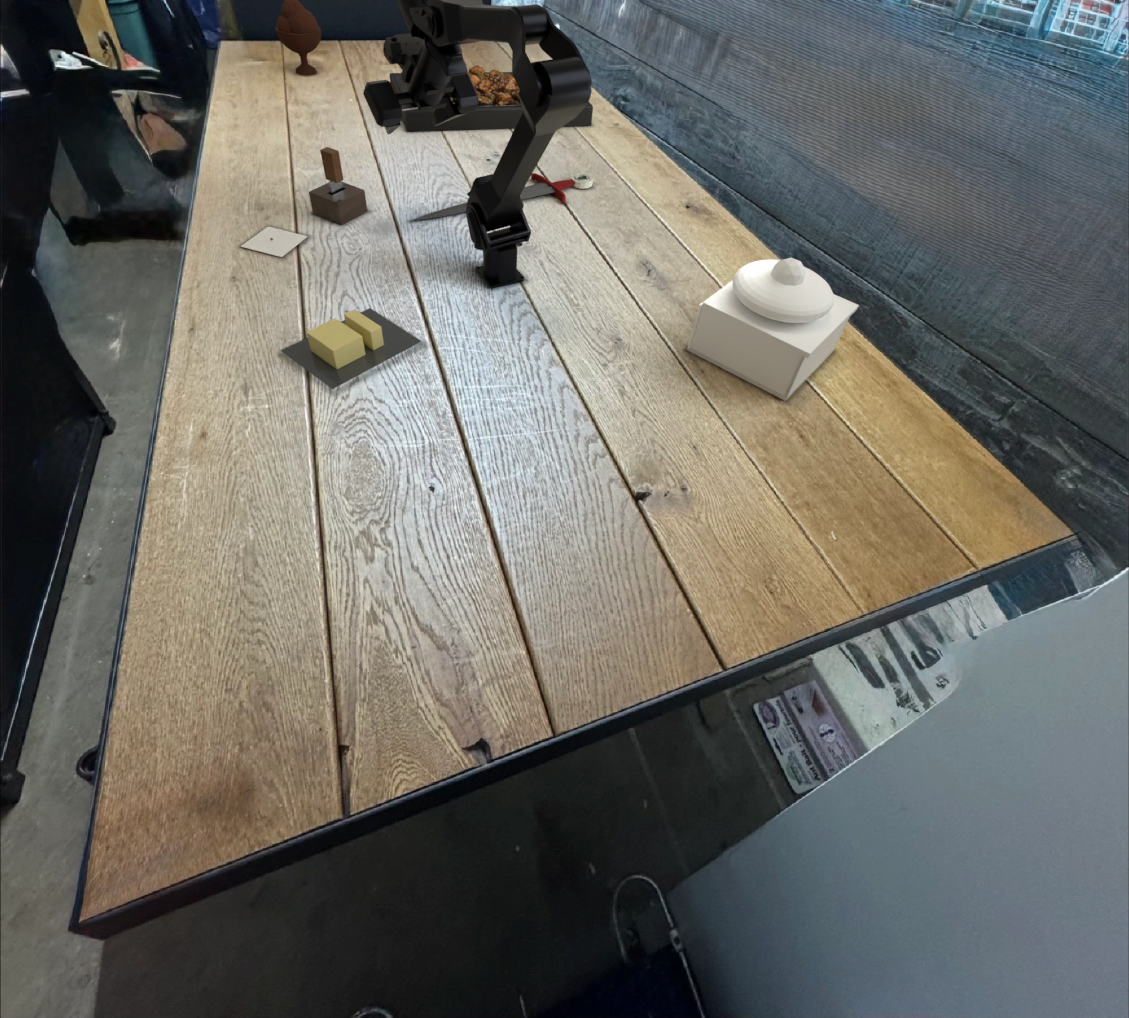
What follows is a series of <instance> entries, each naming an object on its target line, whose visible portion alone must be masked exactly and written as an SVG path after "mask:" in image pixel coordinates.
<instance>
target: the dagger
mask: <svg viewBox="0 0 1129 1018" xmlns="http://www.w3.org/2000/svg"><path fill="white" fill-rule="evenodd" d="M530 180H531V181H535V182H537V183H534V184H531V185H527V186H525V187H524V189H523V191H522V192H521V198H522V200H525V199H530V198H535V197H540V196H544V195H548V194H551V195H553V196H555V197H556V198H558V199H559V200H561V203H562V204H565V203H566V199H567V198H566V194H565V193H564V191H563V189H568V188H570V187H573V188H576V189H581V190H582V189H590V188H591V187H592V186H593V182H594V177H593V176H592V175H591V174H589V173H586V172H575V173H571V175H570V179H562V180H556V181H552V182H551V181H550V180H548V179H547V178H546V177H544V176H543V175H540V174H538V173H536V172H533V173H532V174H531V176H530ZM466 207H467V202H463V203H460V204H455V205H453V206H450V207H446V208H442V209H439V210H436V211H433V212H430V213H427V214H424V215H421V216H418V217H416V218H413V219H411V220H410V222H413V221H421V220H428V219H429V220H430V219H434V218H441V217H446V216H451V215H452V216H453V215H457V214H461V213H466Z"/></svg>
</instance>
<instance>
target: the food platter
mask: <svg viewBox="0 0 1129 1018" xmlns="http://www.w3.org/2000/svg"><path fill="white" fill-rule="evenodd" d="M467 72H468V74H469V76H470V78H471V81H472V83H473V85H474V87H475V90H476V92H477V94H478V100H479V102H478V105H477V107H476V109H475V111H472V112H468V113H467V114H464V115H461V116H459V117H456V118H454V119H451V120H449V121H446V122H444V123H442V124H440V125H437V126H434V124H433V122H432V118H433V114H434V112H435V109H432V110H426V111H420V112H419V110H418V108H417V109H411V110H405V111H402V115H403V118H402V120H401V122H402V123H403V126H404V128H405V130H406V132H407V133H417V132H446V131H449V132H450V131H477V130H478V131H479V130H480V131H481V130H506V129H510V130H511V129H515V127H516V125H517V123H518V121H519V119H520V117H521V115H522V112H523V110H522V106H521V102H520V98H519V91H520V89H519V87H518V85H517V83H516V81H515V79H514V77H513V75H512V71H500V69H491V70H489V71H486V70H485V68H484V67H482V66H480V65H479V64H476V65H473V66H471V67H470V68H469V69H468V70H467ZM401 73H402V71H401V72H390V73H389V81H390V83H391V86H392V88H393V90H394V92H395V94H397V93H404V92H407V86H408V85H407V83H404V82H403V80H402V78H401ZM593 111H594V106H593V104H592V103H591V102H590V101H589V102H588V104H587V105H586V106H585V107H584V109H583V110H582V111H581V112H580V113H579V114H578V115H577V116H576V118H574V119H573V120H571V121H570V122H568V123H567V124H565V125H564V126H563V127H562V128H568V127H569V128H570V127H592V122H593V121H592V120H593Z"/></svg>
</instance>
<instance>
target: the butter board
mask: <svg viewBox="0 0 1129 1018" xmlns="http://www.w3.org/2000/svg"><path fill="white" fill-rule="evenodd" d="M359 312H360V311H359ZM360 313H361V314H363V315H364V316H366V317H367V318H369V319H370V320H372V321H373V322H375V323H376V324H378V325H379V326H381V329H382V335H383V342H384V345H383V346H381V347H379V348H377V349H375V350H372V349H371V348H369V347H368V346H366V345H365V344H364V349H365V355H364V356H362V357H360V358H358V359H356V360H354V361H352V362H350V363H348V364H347V365H345V366H343V367H341V368H339V369H336V368H334V367H333V366H332V365H330V364H329V363H327V362H326V361H325V360H323V359H322V358H320V357H319V356H318V355H316V354H315V353H314V352H312V351H311V349H310V345H309V341H308V337H306V338H304V339H302V340H299V341H297V342H295V343H293V344H291V345H289V346H287V347H284V348H282V349H280V352H281V353H283V354H284V355H286V356H287V357H288V358H290V359H291V360H292V361H294V362H295V363H297V364H298V365H299V366H301V368H303V369H304V370H306V371H307V372H308V373H310V374H311V375H313V376H314V377H315V378H317V379H318V380H320V381H321V382H322V383H323V384H325V385H326V386H328V387H329V388H330V389H332V390H335V389H336V388H338V387H339V386H341V385H344V384H345V383H347V382H349V381H351V380H353V379H354V378H357V377H358V376H360V375H362V374H364V373H366V372H368V371H370V370H372V369H373V368H375V367H377V366H379V365H380V364H383V363H384V362H387V361H389V360H390V359H392V358H394V357H396V356H397V355H400V354H401V353H403V352H405V351H407V350H409V349H411V348H412V347H415V346H416V345H418V344H420V343H422V340H420V339H419V338H417V336H414V335H413V334H411V333H409V332H408V331H406V330H405V329H403V328H402V327H400V326H399V325H398V324H396V323H394V322H392V321H391V320H389V319H388V318H386V317H384V316H383V315H382V314H380V313H378V311H375V310H374V309H372V308H370V307H369V308H367V309H365V310H362V311H361V312H360ZM340 322H342V323H343V324H345V325H346V322H345V319H344V320H340Z"/></svg>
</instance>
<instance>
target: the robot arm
mask: <svg viewBox="0 0 1129 1018" xmlns="http://www.w3.org/2000/svg"><path fill="white" fill-rule="evenodd" d="M395 2H396V4H397V6H398V8H399V10H400V13H401V14H402V17H403V19H404V22H405V24H406V26H407V29H408V31H409V33H400V34H395V35H393V36H388V37H387V36H386V38H385V40H384V42H383V47H382V52H383V56H384V58H385V59H386V60H387V62H388V63H389V64H390V65H398V66H399V68H400V69H401V72H402V73H401V72H400V73H401V78H402V80H403V82H404V83H407V85H408V86H407V92H404V93H397V94H395V92H394V90H393V88H392V86H391V83H390V80H388V79H380V80H373V81H367V82H365V83H366V84H365V86H364V89H363V92H362V94H363V97H364V99H365V101H366V103H367V105H368V108H369V110H370V112H371V114H372V117H373V118H374V121H375V123H376V125H377V126H379V127H380V128H384V129H385V131H386V134H387V135H391V134H392V133H394V132H395V131H396V130H397V129H399V127H401V125H402V124H401V122H402V118H403V115H402V111H405V110H411V109H417V108H418V110H419V112H420V111H426V110H432V109H435V112H434V114H433V118H432V122H433V124H434V126H437V125H440V124H442V123H444V122H446V121H449V120H451V119H454V118H456V117H459V116H461V115H464V114H467V113H468V112H472V111H475V109H476V107H477V105H478V102H479V100H478V94H477V92H476V90H475V87H474V85H473V83H472V81H471V78H470V76H469V74H468V72H469V71H468V67H467V64H466V61H465V58H464V55H463V49H462V46H461V45H467V44H468V45H469V44H475V43H478V42H481V41H484V42H495V43H503V44H504V43H505V44H508V46H509V47H510V50H511V51H512V52H511V56H512V57H511V72H512V75H513V77H514V79H515V81H516V83H517V85H518V87H519V89H520V91H519V98H520V102H521V106H522V110H523V112H522V115H521V117H520V119H519V121H518V123H517V125H516V127H515V128H513V131H512V134H511V135H510V137H509V140H508V142H507V144H506V146H505V148H504V150H503V152H502V155H501V157H500V159H499V161H498V164H497V165H496V167H495V169H494V171H493V173H492V174H486V175H482V176H479V177H478V176H477V177H475V179H474V180H473V181H472V184H471V188H470V190H469V191H468V192H467V193H466V194H467V196H468V198H467V202H466V203H467V207H466V212H465V217H466V221H467V226H468V227H467V228H468V231H469V232H468V233H469V236H470V240H471V242H472V243H473V247H474V249H475V250H478V251H482V265H478V266H475V271H476V272H477V274H478V275H479V276H480V278H482V280H484V282H485V284H487V285H488V287H490V288H491V289H492V288H497V287H503V286H506V285H511V284H515V283H520V282H524V281H525V276H524V275H523V274H522V273H521V272H520V271H519V269H518V244H521V243H527V242H529V241H530V237H531V235H532V230H531V227H530V225H529V222H528V219H527V217H526V214H525V212H524V210H523V209H524V201H523V199H522V198H521V192H522V191H523V189H524V187H526V185H527V183H528V182H529V180H530V179H531V174H532V173H534V171H535V169H536V167H537V165H538V164H539V162H540V160H541V158H542V157H543V155H544V153H545V151H546V150H547V147H548V146H549V144H550V142H551V141H552V138H553V137H554V135H555V133H556V132H557V131H558V130H559V129H561V128H564V127H563V126H564V125H565V124H567V123H568V122H570V121H571V120H573V119H574V118H576V116H577V115H578V114H579V113H580V112H581V111H582V110H583V109H584V107H585V106H586V105H587V104H588V102H590V99H591V97H592V86H593V82H592V76H591V72H590V70H589V68H588V66H587V64H586V62H585V60H584V58H583V56H582V54H581V53H580V50H579V48H578V46H577V44H575V42H573V41H572V39H571V38H570V37H568V35H567V34H565V33H564V32H563V31H562V30H561V29H560V28H559V27H558V26H557V25H555V23H554V21H553V19H552V18H551V16H550V13H549V12H548V10H547V9H546V8H545V7H544V6H542V5H540V4H526V5H525V4H524V5H495V4H494V5H493V4H485V3H483V0H395ZM530 45H539V48H540V49H541V50H542V51H543V52H544V53H545V54H546V55H547V56H548V57H549V58H551V59H545V60H537V61H531V60H530V58H529V56H528V53H527V52H526V46H530ZM467 71H468V72H467Z"/></svg>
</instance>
